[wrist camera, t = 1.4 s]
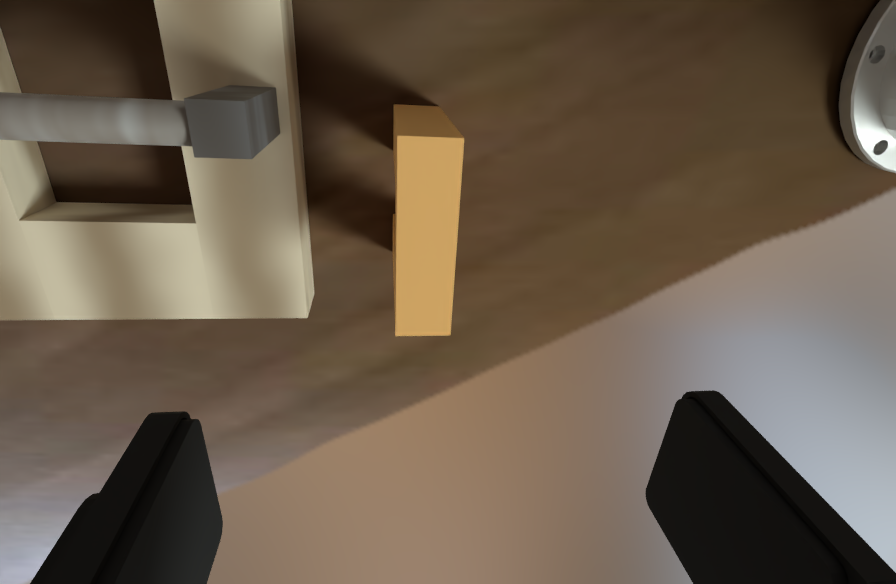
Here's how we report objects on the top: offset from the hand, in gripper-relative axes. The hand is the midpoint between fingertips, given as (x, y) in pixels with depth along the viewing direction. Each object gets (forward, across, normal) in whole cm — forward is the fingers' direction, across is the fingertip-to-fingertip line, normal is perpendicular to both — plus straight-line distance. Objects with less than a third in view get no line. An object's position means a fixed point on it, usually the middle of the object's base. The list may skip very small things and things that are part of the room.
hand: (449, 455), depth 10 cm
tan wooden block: (+20, -1, 0) cm, 20 cm away
